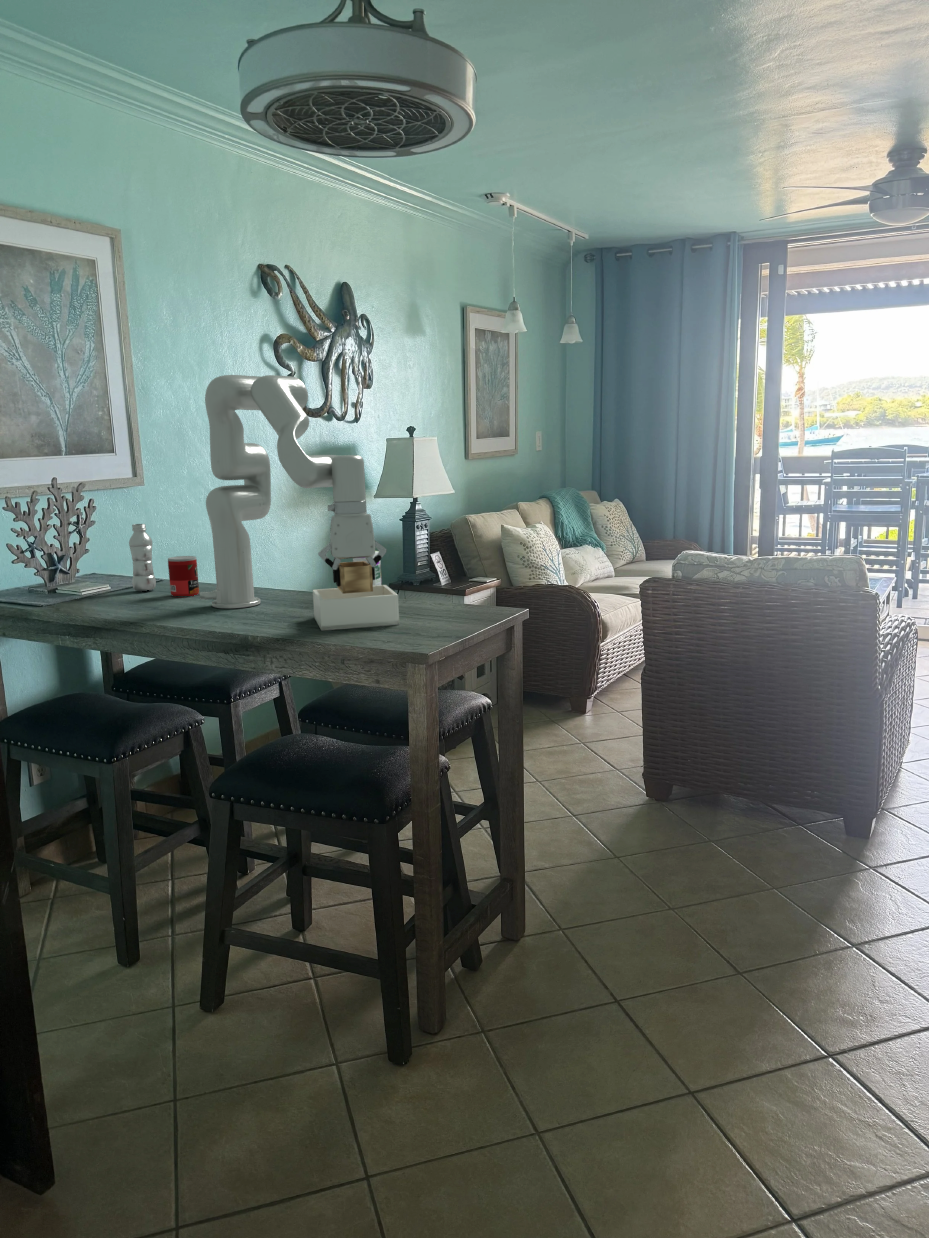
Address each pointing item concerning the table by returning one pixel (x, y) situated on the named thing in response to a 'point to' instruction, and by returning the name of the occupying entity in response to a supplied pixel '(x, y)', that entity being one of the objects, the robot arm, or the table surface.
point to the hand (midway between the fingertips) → (354, 584)
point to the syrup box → (377, 569)
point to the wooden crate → (355, 577)
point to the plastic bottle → (142, 559)
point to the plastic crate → (355, 608)
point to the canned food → (183, 576)
